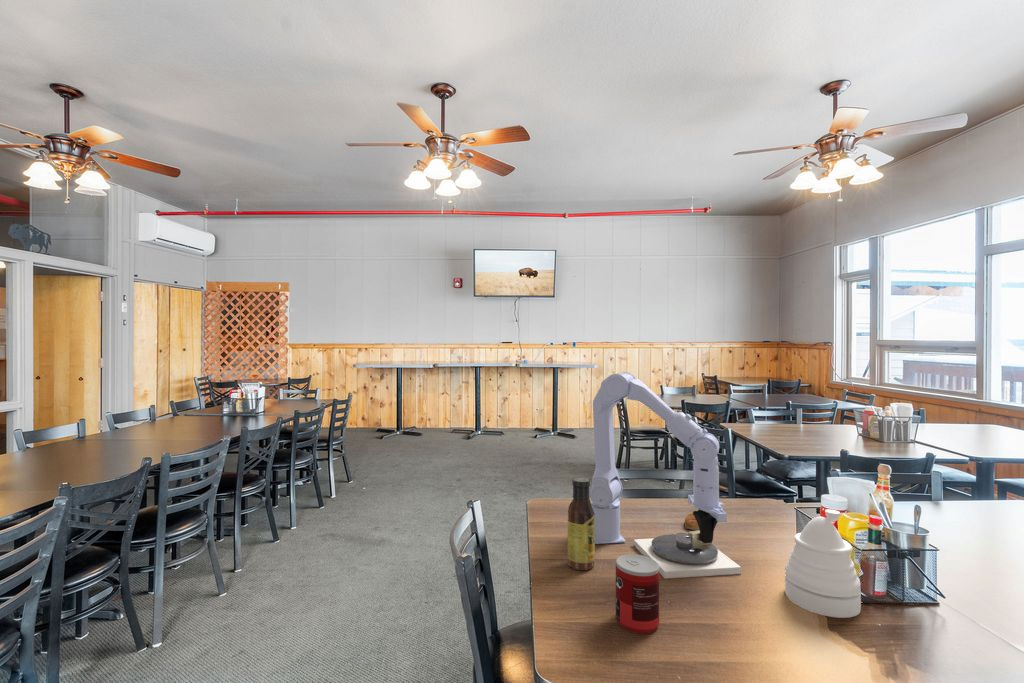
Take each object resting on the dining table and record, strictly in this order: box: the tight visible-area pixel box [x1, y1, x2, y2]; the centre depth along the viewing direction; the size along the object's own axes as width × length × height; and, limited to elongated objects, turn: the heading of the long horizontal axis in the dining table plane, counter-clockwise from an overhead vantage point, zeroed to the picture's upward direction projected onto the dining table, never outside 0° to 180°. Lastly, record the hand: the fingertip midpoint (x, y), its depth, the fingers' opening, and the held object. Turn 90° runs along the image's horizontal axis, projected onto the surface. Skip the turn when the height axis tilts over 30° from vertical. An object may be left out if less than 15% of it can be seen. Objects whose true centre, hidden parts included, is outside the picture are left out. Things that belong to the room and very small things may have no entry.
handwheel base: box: [633, 537, 742, 579], centre depth 118 cm, size 18×18×2 cm
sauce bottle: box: [567, 477, 596, 571], centre depth 114 cm, size 7×6×20 cm
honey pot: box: [784, 508, 862, 619], centre depth 99 cm, size 13×13×18 cm
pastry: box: [684, 509, 699, 531], centre depth 139 cm, size 9×7×4 cm
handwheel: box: [652, 530, 719, 565], centre depth 118 cm, size 15×15×4 cm
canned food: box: [615, 553, 661, 635], centre depth 91 cm, size 8×8×11 cm
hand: (706, 542), depth 118 cm, fingers closed, pressing on handwheel
